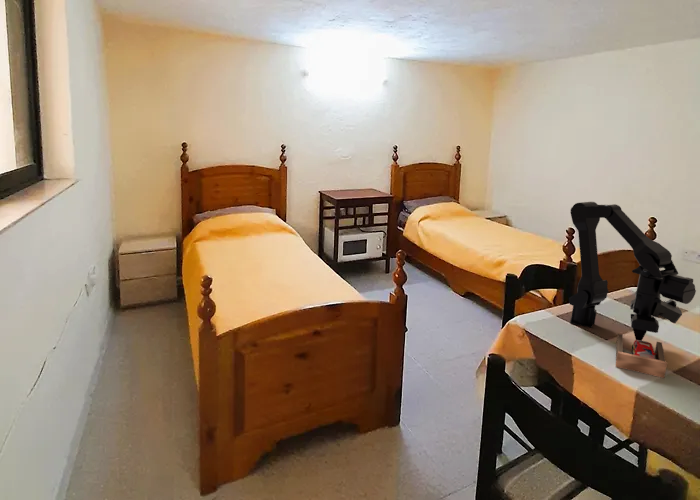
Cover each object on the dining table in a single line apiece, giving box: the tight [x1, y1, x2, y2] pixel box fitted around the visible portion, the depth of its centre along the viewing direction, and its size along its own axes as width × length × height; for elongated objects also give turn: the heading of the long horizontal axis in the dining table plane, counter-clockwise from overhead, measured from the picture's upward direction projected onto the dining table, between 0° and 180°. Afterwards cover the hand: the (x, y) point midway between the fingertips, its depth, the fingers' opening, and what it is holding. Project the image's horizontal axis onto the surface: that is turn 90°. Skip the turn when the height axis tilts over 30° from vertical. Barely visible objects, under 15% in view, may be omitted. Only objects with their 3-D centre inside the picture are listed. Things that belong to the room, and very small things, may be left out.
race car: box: [631, 339, 656, 359], centre depth 128 cm, size 13×5×4 cm, turn 150°
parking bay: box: [615, 333, 668, 379], centre depth 127 cm, size 11×16×4 cm
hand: (638, 341), depth 135 cm, fingers closed
